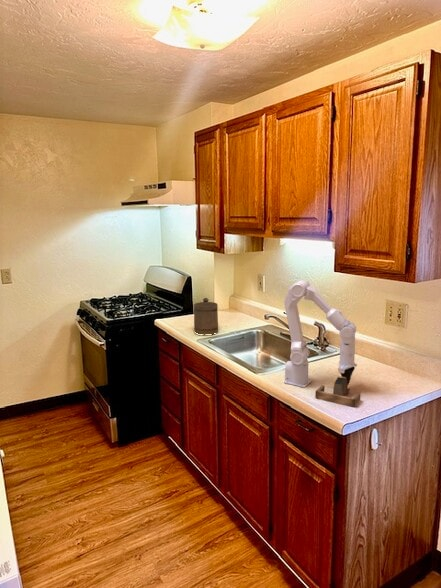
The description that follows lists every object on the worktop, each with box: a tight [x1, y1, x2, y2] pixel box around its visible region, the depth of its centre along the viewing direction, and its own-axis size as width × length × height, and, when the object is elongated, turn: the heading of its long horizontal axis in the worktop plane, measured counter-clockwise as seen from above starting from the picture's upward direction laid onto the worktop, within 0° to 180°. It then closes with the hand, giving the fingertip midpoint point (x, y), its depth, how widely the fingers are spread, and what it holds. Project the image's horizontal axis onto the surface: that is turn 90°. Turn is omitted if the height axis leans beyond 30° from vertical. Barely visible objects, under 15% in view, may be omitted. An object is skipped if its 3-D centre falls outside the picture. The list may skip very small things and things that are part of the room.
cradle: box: [314, 384, 361, 408], centre depth 159 cm, size 15×7×3 cm, turn 56°
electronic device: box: [332, 375, 351, 397], centre depth 162 cm, size 4×10×8 cm, turn 147°
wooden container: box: [193, 297, 219, 334], centre depth 252 cm, size 15×15×22 cm
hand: (346, 384), depth 167 cm, fingers closed
